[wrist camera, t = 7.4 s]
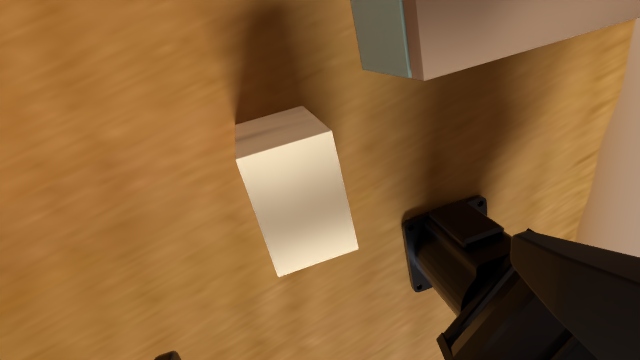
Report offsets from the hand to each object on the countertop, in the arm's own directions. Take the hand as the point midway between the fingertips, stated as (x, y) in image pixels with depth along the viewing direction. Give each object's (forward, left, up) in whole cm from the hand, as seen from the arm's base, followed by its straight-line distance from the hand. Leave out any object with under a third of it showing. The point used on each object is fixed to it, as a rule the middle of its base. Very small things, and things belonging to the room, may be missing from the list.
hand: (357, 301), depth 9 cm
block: (-1, 0, -13) cm, 13 cm away
